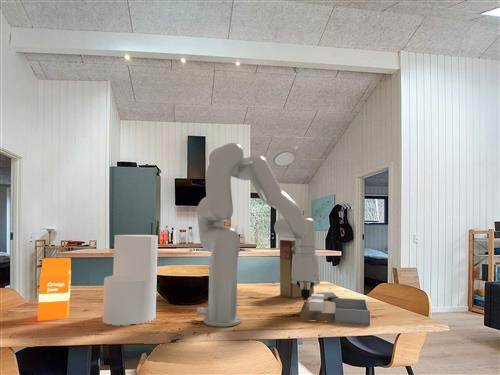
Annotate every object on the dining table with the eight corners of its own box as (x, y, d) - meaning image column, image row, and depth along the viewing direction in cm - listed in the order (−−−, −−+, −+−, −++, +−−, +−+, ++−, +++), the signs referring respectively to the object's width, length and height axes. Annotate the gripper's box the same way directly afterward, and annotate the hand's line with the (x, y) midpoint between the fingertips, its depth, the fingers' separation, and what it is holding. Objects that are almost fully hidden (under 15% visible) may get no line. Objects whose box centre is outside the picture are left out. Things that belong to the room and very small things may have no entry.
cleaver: (345, 308, 145) (345, 303, 145) (319, 308, 145) (319, 302, 146) (333, 294, 174) (333, 290, 174) (312, 294, 175) (312, 289, 175)
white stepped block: (129, 310, 139) (132, 234, 141) (166, 315, 131) (168, 235, 133) (90, 320, 123) (94, 236, 126) (129, 328, 115) (132, 237, 118)
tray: (335, 322, 124) (335, 308, 124) (335, 310, 141) (335, 298, 142) (369, 325, 121) (369, 310, 122) (366, 311, 139) (365, 299, 139)
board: (300, 320, 126) (300, 311, 127) (305, 308, 144) (305, 300, 144) (335, 322, 124) (335, 313, 124) (335, 310, 141) (335, 302, 141)
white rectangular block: (309, 310, 128) (309, 301, 128) (310, 307, 132) (310, 298, 132) (322, 311, 127) (322, 302, 127) (323, 308, 131) (322, 299, 131)
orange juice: (41, 315, 130) (44, 257, 132) (69, 313, 133) (72, 256, 135) (37, 320, 123) (40, 259, 125) (66, 318, 126) (69, 258, 128)
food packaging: (301, 292, 176) (301, 239, 178) (315, 295, 168) (314, 240, 170) (278, 295, 169) (278, 239, 171) (291, 298, 161) (291, 240, 163)
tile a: (311, 304, 137) (311, 295, 138) (312, 301, 142) (312, 293, 142) (323, 304, 136) (323, 296, 137) (324, 302, 141) (324, 294, 141)
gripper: (284, 251, 140) (284, 300, 138) (324, 252, 136) (325, 303, 135) (286, 249, 147) (287, 296, 146) (325, 250, 144) (325, 298, 142)
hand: (305, 299), depth 140 cm, fingers closed
